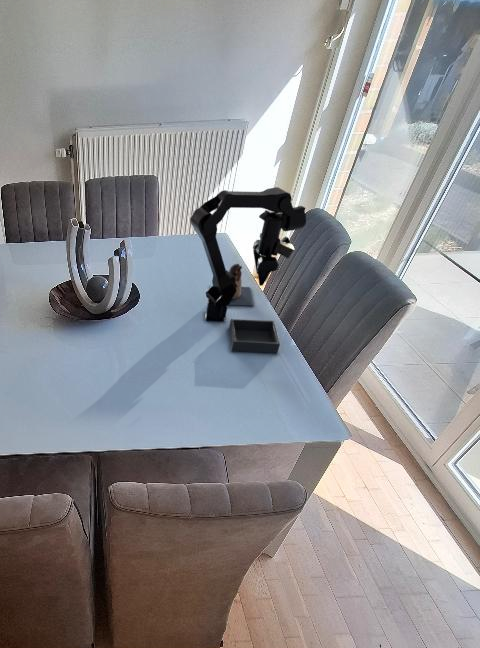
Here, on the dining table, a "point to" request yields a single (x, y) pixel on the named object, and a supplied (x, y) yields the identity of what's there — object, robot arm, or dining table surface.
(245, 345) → the bin
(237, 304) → the mat
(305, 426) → the dining table surface
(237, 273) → the figurine
